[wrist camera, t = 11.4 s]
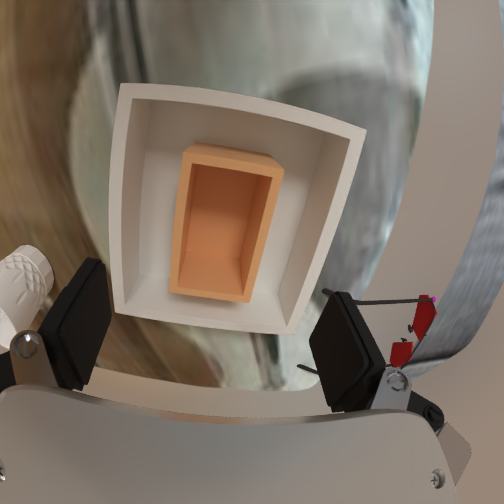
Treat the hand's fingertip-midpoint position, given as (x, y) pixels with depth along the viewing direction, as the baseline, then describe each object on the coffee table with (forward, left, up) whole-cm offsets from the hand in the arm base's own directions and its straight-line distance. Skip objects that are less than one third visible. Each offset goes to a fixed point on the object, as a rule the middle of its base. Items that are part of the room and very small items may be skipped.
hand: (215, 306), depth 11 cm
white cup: (+12, -22, -15) cm, 29 cm away
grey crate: (+1, 0, -14) cm, 14 cm away
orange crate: (+1, 0, -13) cm, 13 cm away
